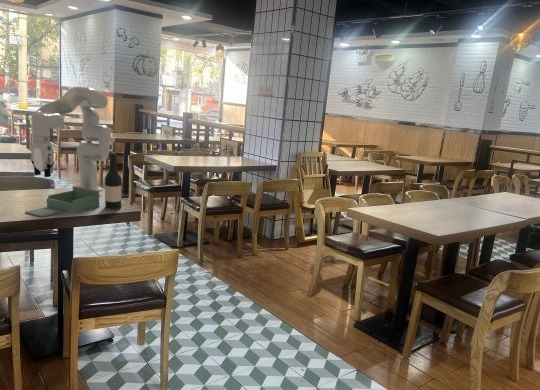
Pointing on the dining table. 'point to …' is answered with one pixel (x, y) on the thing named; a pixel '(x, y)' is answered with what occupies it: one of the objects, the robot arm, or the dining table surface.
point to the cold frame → (74, 200)
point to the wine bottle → (112, 186)
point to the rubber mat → (43, 212)
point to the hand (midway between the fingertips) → (42, 175)
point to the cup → (38, 160)
